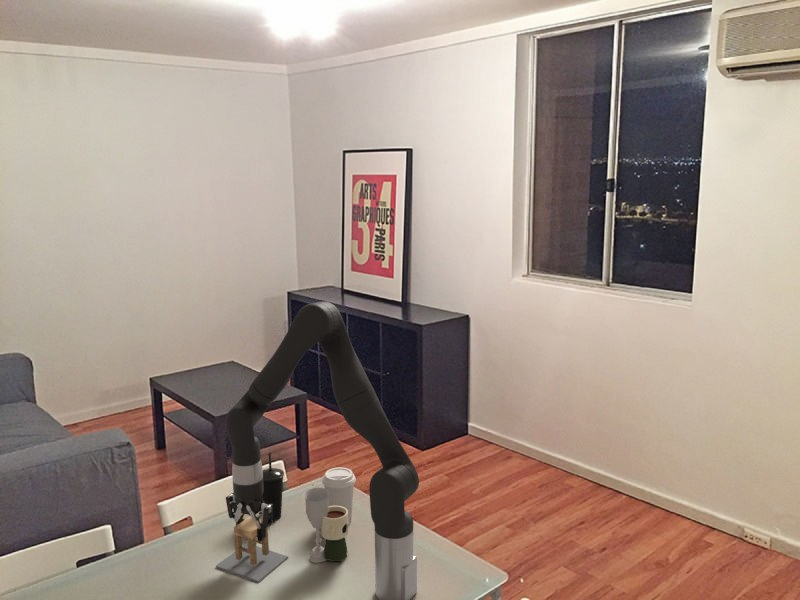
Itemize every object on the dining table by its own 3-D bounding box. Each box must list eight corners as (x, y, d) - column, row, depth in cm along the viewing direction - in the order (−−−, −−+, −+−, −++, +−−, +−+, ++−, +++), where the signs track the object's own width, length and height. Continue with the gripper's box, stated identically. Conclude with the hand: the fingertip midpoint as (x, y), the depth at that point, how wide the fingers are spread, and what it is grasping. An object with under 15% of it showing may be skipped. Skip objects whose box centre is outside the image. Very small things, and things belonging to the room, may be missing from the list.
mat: (288, 558, 182) (288, 556, 182) (258, 582, 171) (258, 580, 171) (246, 544, 188) (246, 542, 188) (216, 567, 178) (215, 565, 178)
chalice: (327, 566, 178) (325, 502, 174) (302, 563, 179) (299, 500, 175) (335, 550, 185) (333, 488, 181) (311, 548, 186) (308, 486, 182)
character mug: (347, 569, 177) (345, 523, 174) (319, 569, 177) (317, 523, 174) (351, 545, 187) (350, 501, 185) (325, 545, 187) (323, 501, 185)
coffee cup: (318, 527, 197) (316, 478, 193) (331, 510, 205) (329, 464, 202) (349, 532, 194) (348, 483, 191) (361, 515, 203) (360, 468, 200)
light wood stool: (268, 553, 180) (267, 522, 179) (253, 565, 175) (252, 533, 173) (251, 547, 183) (249, 516, 181) (235, 558, 178) (233, 527, 176)
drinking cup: (256, 513, 204) (253, 450, 200) (281, 508, 207) (279, 446, 203) (263, 525, 197) (259, 461, 193) (289, 520, 201) (286, 456, 196)
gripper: (279, 476, 175) (282, 536, 178) (235, 465, 181) (239, 523, 185) (260, 489, 168) (263, 551, 172) (215, 477, 175) (219, 536, 178)
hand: (251, 536), depth 178 cm, fingers closed on light wood stool, 6 cm apart
